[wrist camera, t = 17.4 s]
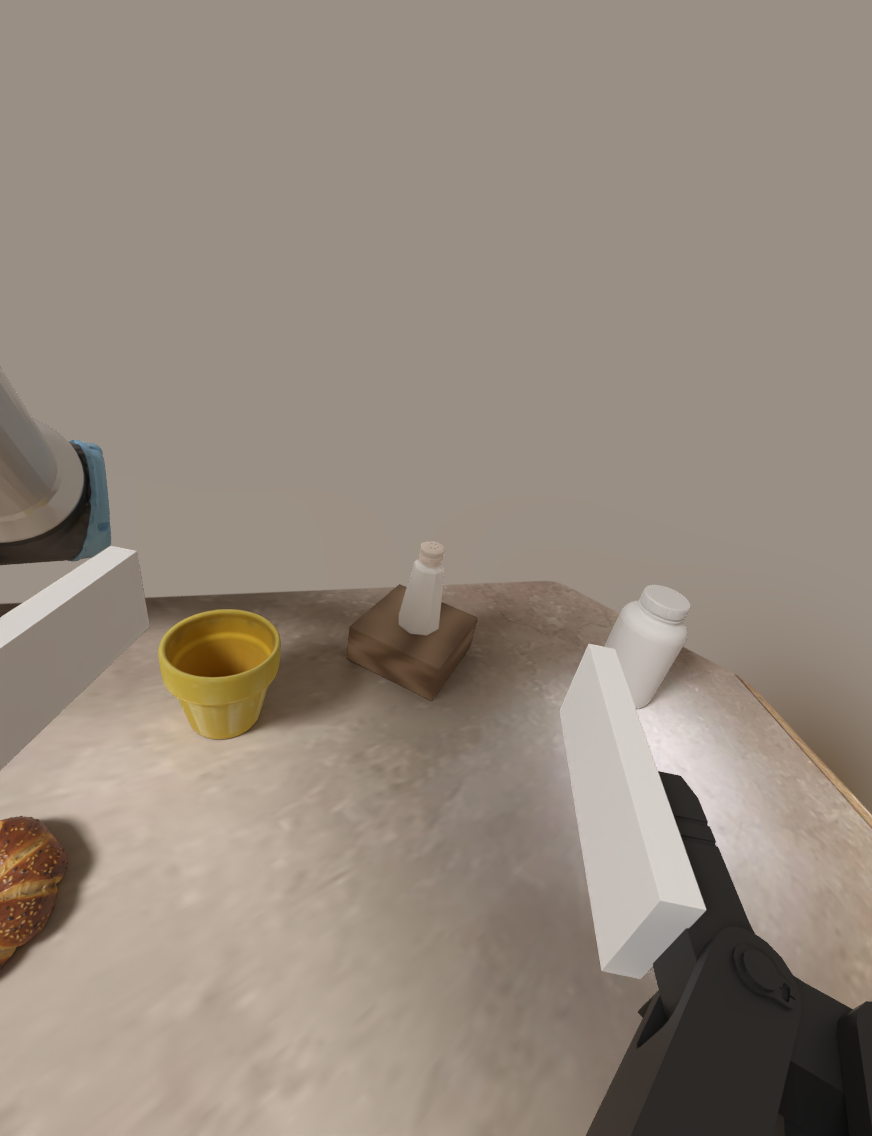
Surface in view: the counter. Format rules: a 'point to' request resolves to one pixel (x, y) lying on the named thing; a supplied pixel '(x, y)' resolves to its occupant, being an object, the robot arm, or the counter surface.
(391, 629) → the walnut base
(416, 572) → the pepper shaker
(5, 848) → the braided bread ring
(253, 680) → the plant pot
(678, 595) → the pill bottle
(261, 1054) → the counter surface
